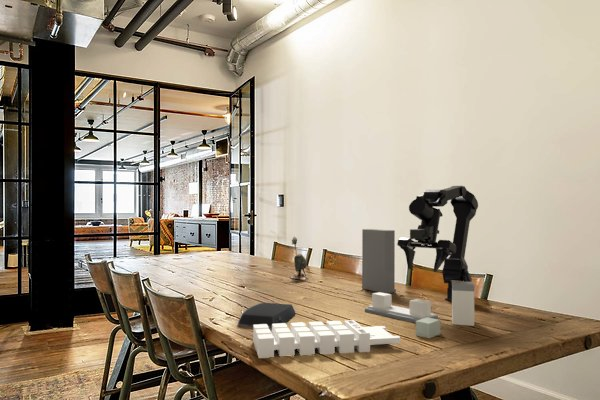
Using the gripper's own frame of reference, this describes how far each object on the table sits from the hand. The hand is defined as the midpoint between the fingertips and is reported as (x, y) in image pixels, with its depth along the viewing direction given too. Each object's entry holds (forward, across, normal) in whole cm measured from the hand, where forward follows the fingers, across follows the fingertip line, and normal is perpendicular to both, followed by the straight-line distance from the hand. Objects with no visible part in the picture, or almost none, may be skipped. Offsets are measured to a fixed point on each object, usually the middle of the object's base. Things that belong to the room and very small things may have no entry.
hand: (421, 270), depth 155 cm
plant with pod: (+4, -77, +28) cm, 82 cm away
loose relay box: (+21, +14, -16) cm, 30 cm away
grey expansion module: (+14, +15, +2) cm, 21 cm away
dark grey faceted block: (+28, -30, -33) cm, 53 cm away
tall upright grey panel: (+5, -32, +28) cm, 43 cm away
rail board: (+16, -4, -2) cm, 16 cm away
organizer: (+31, 0, -41) cm, 51 cm away
